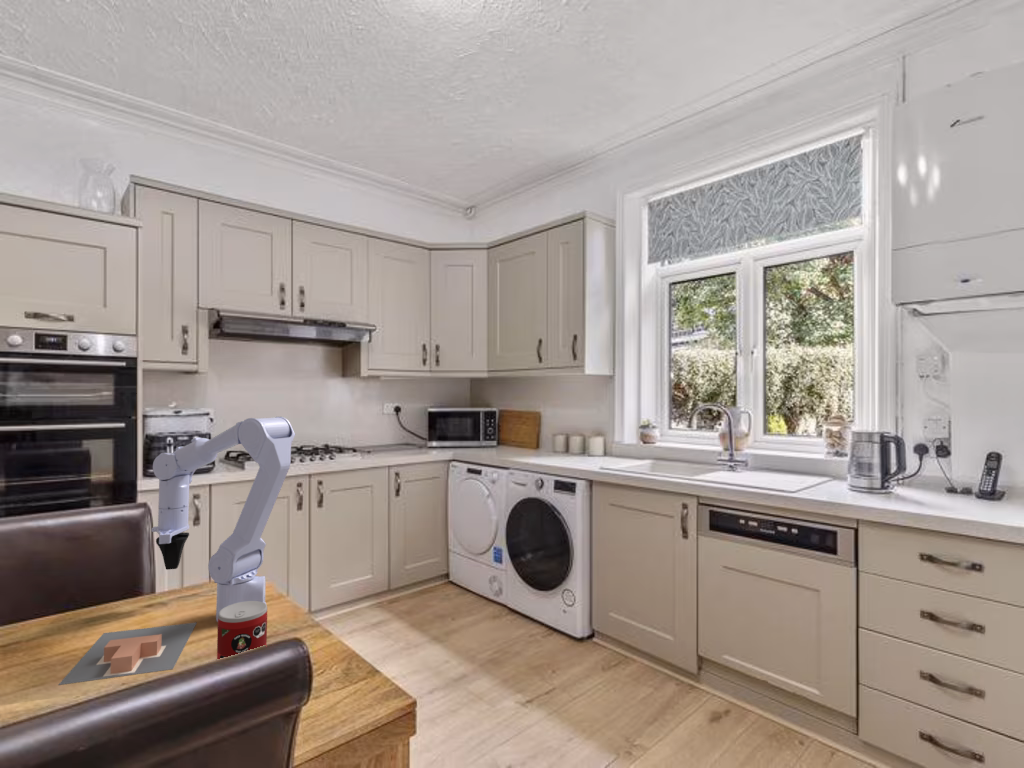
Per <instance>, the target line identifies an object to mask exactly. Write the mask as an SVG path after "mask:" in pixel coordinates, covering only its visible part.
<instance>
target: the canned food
mask: <svg viewBox="0 0 1024 768" xmlns="http://www.w3.org/2000/svg"><path fill="white" fill-rule="evenodd" d="M267 634H268V605H267V603H266V604H265V603H263V602H259V601H245V602H239V603H235V604H232V605H229V606H227V607H225V608H223V609H222V610H220V612H219V616H218V622H217V636H216V637H217V640H216V642H217V643H216V644H217V645H216V646H217V648H216V651H217V652H216V660H217V659H220V658H224V657H228V656H231V655H235V654H238V653H241V652H244V651H247V650H250V649H254V648H257V647H260V646H263V645H266V646H267V639H268V637H267V636H268V635H267Z"/></svg>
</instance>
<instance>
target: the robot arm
mask: <svg viewBox="0 0 1024 768" xmlns="http://www.w3.org/2000/svg"><path fill="white" fill-rule="evenodd" d="M295 436H296V433H295V431H294V429H293V426H292V424H291V421H289V419H287V418H286V417H284V416H274V417H259V418H258V417H257V418H256V417H249V418H246V419H244V420H243V421H238V422H236V424H235V425H233V426H232V427H229V428H228V429H226V430H224V431H223V432H220V433H218V434H217V435H214V437H212V438H210V439H209V438H206V437H194V438H192V439H191V440H190V441H191V442H190V443H188V444H186V445H184V446H178V447H175V451H173V452H161V453H160V454H159V455H157V456H156V457H155V459H153V463H152V472H153V474H154V476H155V477H156V478H157V479H158V480H159V481H158V482H159V483H158V511H157V513H158V515H157V526H154V527H152V528H151V532H152V533H153V532H156V533H157V534H158V537H157V538H156V539H155V542H156V545H157V546H158V548H159V550H160V551H161V555H162V559H163V564H164V567H165V570H166V571H167V570H177V569H178V567H179V566H180V562H181V558H182V553H183V550H184V547H185V544H186V542H187V539H188V538H189V536H190V532H186V531H188V530H190V524H189V518H190V517H189V516H190V514H189V510H190V509H189V507H190V506H189V504H190V484H191V483H192V481H193V475H194V473H195V472H196V470H198V469H201V468H203V467H204V466H207V465H209V464H211V463H213V462H214V461H216V460H217V458H218V455H219V454H220V453H221V452H223V451H226V450H228V449H231V448H233V447H235V446H237V445H241V446H242V447H243V449H245V450H246V453H248V454H249V456H250V457H251V458H252V461H253V460H254V462H255V463H257V464H258V467H259V468H258V470H257V473H256V476H255V477H254V480H253V483H252V485H251V487H250V491H249V493H248V495H247V497H246V500H245V503H244V505H243V507H242V510H241V511H240V515H239V516H238V520H237V522H236V525H235V528H234V529H233V531H232V533H231V534H230V536H228V537H227V538H226V539H225V540H224V541H223V542H222V543H221V544H220V545H219V546H218V549H217V550H216V552H215V553H214V554H212V556H211V557H210V558H209V561H208V566H207V569H208V574H209V576H210V577H211V579H212V580H213V581H214V582H213V583H215V584H216V606H215V607H216V610H215V611H216V612H215V619H216V623H218V616H219V612H220V610H222V609H223V608H225V607H227V606H229V605H232V604H235V603H239V602H245V601H259V602H263V603H265V604H266V605H267V602H266V576H265V575H262V576H259V575H258V569H259V568H261V566H262V564H263V562H264V557H265V556H264V555H265V554H264V550H265V547H266V546H267V544H266V542H265V541H264V539H263V538H262V535H263V533H264V530H265V527H266V525H267V524H268V521H269V518H270V516H271V514H272V511H273V509H274V506H275V503H276V501H277V499H278V496H279V494H280V491H281V490H282V488H283V485H284V482H285V481H286V480H285V479H286V477H287V474H288V472H289V470H290V468H291V458H292V457H291V456H292V444H293V442H294V439H295Z"/></svg>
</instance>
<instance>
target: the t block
mask: <svg viewBox="0 0 1024 768" xmlns="http://www.w3.org/2000/svg"><path fill="white" fill-rule="evenodd" d="M161 643H162V634H159V635H151V636H142V637H134V638H125V639H117V640H110V641H109V642H108V644H107V645H106V646H105V647H104V662H108V661H111V674H112V673H119V672H127V671H132V670H133V668H134V666H135V665H136V663H137V662H138V660H139V659H140V657H147V656H154V655H157V654H158V653H159V651H160V649H161Z"/></svg>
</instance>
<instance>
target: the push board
mask: <svg viewBox="0 0 1024 768" xmlns="http://www.w3.org/2000/svg"><path fill="white" fill-rule="evenodd" d="M196 625H197V622H196V621H195V622H189V623H180V624H172V625H162V626H154V627H145V628H136V629H128V630H120V631H111V632H110V631H109V632H103V633H102V635H101V636H100V637H99V638H98V639H97V640H96V641H95V642H94V644H93V645H91V647H90V648H89V649H88V651H87V652H86V653H85V654H84V655H83V656H82V657H81V658H80V660H79V661H78V662H77V663H76V664H75V665H74V666H73V667H72V668H71V670H70V671H69V672H68V673H67V674H66V675H65V677H64V678H63V679H62V680H61V681H60V682H59V683H58V686H61V685H63V686H64V685H69V684H71V685H72V684H76V683H83V682H90V681H99V680H105V679H106V680H107V679H113V678H114V679H115V678H118V677H119V678H121V677H126V676H134V675H142V674H148V673H155V672H162V671H163V672H164V671H169V670H174V668H175V667H176V663H177V662H178V660H179V658H180V656H181V655H182V653H183V651H184V650H185V649H184V648H185V646H186V644H187V643H188V642H189V641H188V640H189V639H190V637H191V635H192V633H193V631H194V630H195V627H196ZM159 634H162V643H161V649H160V651H159V653H158V654H157V655H154V656H147V657H140V659H139V660H138V662H137V663H136V665H135V666H134V668H133V670H132V671H127V672H119V673H112V674H111V661H108V662H104V647H105V646H106V645H107V644H108V642H109V641H110V640H117V639H125V638H134V637H142V636H151V635H159Z"/></svg>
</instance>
